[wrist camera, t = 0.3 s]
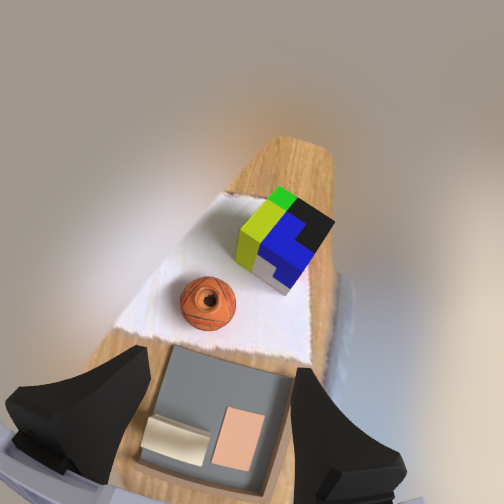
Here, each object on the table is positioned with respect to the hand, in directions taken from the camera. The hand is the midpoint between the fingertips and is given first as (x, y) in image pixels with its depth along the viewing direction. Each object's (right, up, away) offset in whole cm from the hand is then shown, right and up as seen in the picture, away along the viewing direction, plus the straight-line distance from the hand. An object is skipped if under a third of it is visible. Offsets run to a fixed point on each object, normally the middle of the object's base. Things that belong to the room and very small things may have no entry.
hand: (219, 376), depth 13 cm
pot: (-5, -3, +31) cm, 31 cm away
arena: (-3, -19, +23) cm, 30 cm away
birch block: (-9, -20, +21) cm, 30 cm away
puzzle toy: (+6, +5, +36) cm, 37 cm away
